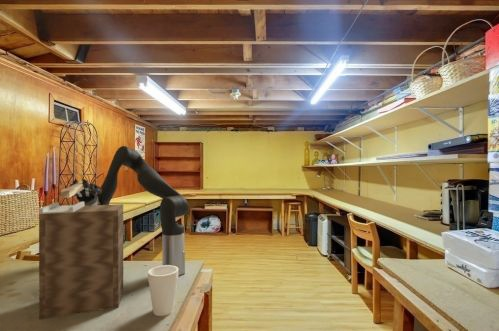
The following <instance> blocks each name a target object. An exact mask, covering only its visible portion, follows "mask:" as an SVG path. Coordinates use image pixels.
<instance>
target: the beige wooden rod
mask: <svg viewBox="0 0 499 331" xmlns="http://www.w3.org/2000/svg"><path fill="white" fill-rule="evenodd" d="M82 182H83V180H82V181H78V183H77V184H74V185H72V186H70V185H69V186H70V187H69V186H68V187H66V188H64V189H62V190H61V191H60V194H61V195H60V196H61V199H66V198H67V199H69V198H71V197H73V196H75V194H76V193H78V192H80V191H81V190H83V189H85V188H84V186H83V184H82Z"/></svg>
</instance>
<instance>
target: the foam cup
mask: <svg viewBox="0 0 499 331" xmlns="http://www.w3.org/2000/svg"><path fill="white" fill-rule="evenodd" d="M178 278H179V275H178V267H176V266H172V265H163V266H162V265H159V266H158V265H157V266H154V267H152V268H150V269H149V270H148V272H147V281H148V287H149V293H150V300H151V301H150V302H151V307H152V313H154V314H155V315H154V314H153V315H154V316H158V317H164V316H169V315H171V314H172V313H173V312H174V308H175V301H176V294H177V287H178V286H177V285H178V280H179V279H178Z"/></svg>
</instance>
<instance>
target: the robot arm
mask: <svg viewBox="0 0 499 331" xmlns="http://www.w3.org/2000/svg"><path fill="white" fill-rule="evenodd" d="M122 166H125V167H128V168H129V169H131V170H132V171H133V172H134V173H136V178H137V181H138V183H139V184H140V186H141V188H143V189H144V190H145V191H147V193H150V194H152V195H153V196H156V197H158V198H160V199H161V201H160V203H159V204H160V205H159V216H160V217H159V218H160V219H159V220H160V228H161V232H162V233H161V234H162V235H161V236H162V248H161V249H162V250H161V253H162V258H161V259H162V261H161V262H162V263H161V264H162V265H161V266H163V265H172V266H176V267H178V276H182V275H185V274H186V251H185V226H184V225H182V224H178V223H177V219H176V218H179V217H183V216H185V215H187V214H188V212H189V210H190V208H189V206H190V205H189V202H188V200H187V198H185V196H183V195H182V194H181V193H180V192H178V191H177V190H176V189H174V188H173V187H172V186H171V185H170V184H169V183H168V182H167V181H166V180H165V179H163V177H162V176H161V175H160V174H159V173H158V172H157V171H156V170H155V169H154V168H153V167H152V166H150V164H148V163H147V162H146V160H145V159H144V158H143V157H142V155H141V153H139V152H138V151H137V150H135V149H134V148H131V147H128V146H125V145H121V146H120V147H118V148H117V150H116V151H115V152H114V155H113V157H112V160H111V163H110V165H109V168H108V171H107V173H106V176H105V178H104V180H103V182H102V184H101V186H99V185H97V184H95V183H90V182H88V180H86V179H85V178H83V179H82V181H83V182H82V184H83V186H84V188H85V189H83V190H81V191H80V192H78V193H76V194H75V195H74V196H75V197H76V199H77V201H78V203H79V202H84V206H94V205H110V201H111V199H113V196H114V195H115V193H116V191H117V188H118V178H119V177H118V176H119V171H120V169H121V168H122ZM77 183H79V181H78V179H74V180H73V181H72V183H71V184H70V185H69V186H68V187H70V186H72V185H74V184H77Z"/></svg>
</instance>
